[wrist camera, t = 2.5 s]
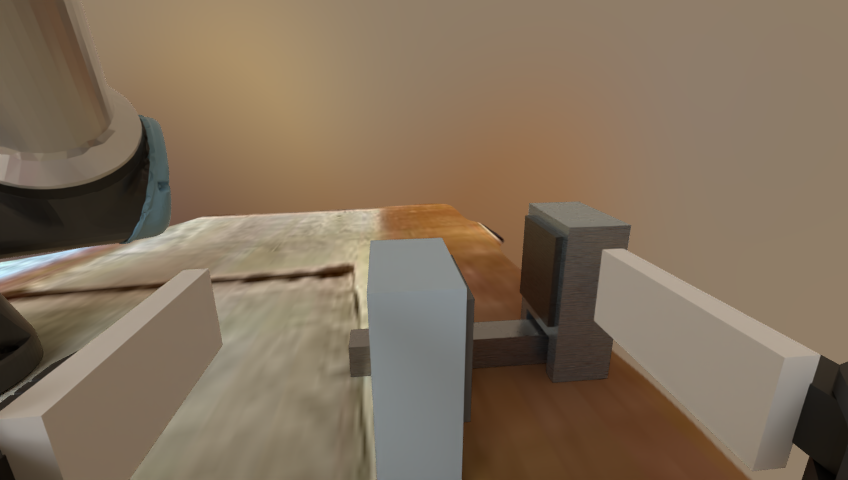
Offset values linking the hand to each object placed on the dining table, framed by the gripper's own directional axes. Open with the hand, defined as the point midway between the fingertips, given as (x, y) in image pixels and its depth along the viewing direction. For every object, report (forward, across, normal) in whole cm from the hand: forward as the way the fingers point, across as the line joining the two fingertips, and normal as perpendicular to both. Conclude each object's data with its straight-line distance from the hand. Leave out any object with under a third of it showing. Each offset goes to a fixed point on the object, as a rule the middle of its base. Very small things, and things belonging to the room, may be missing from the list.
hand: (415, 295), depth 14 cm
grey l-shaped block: (+20, +6, -16) cm, 27 cm away
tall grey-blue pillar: (+10, 0, -16) cm, 20 cm away
